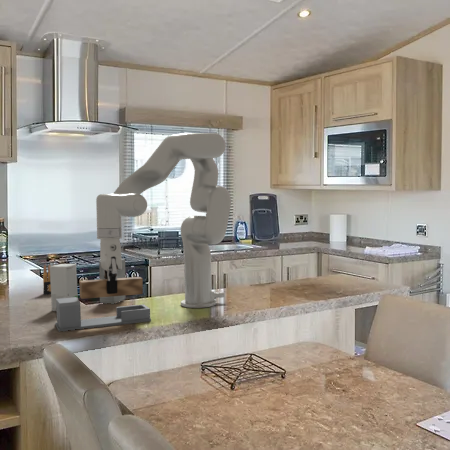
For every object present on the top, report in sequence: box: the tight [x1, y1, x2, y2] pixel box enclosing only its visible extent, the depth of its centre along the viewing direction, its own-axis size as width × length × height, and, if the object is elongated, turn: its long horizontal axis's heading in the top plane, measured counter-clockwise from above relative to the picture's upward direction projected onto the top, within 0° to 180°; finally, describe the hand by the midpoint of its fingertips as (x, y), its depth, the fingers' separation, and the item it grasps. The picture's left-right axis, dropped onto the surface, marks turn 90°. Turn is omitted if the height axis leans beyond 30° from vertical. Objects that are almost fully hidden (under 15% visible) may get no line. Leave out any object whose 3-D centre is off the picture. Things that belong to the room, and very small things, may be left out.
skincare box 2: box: [98, 258, 126, 305], centre depth 206 cm, size 8×7×16 cm
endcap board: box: [54, 297, 152, 333], centre depth 174 cm, size 28×9×8 cm, turn 114°
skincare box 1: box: [50, 263, 79, 312], centre depth 195 cm, size 8×7×16 cm
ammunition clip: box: [42, 262, 69, 296], centre depth 225 cm, size 11×2×12 cm, turn 111°
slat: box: [78, 276, 144, 300], centre depth 175 cm, size 19×4×5 cm, turn 114°
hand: (110, 291), depth 175 cm, fingers closed on slat, 3 cm apart
